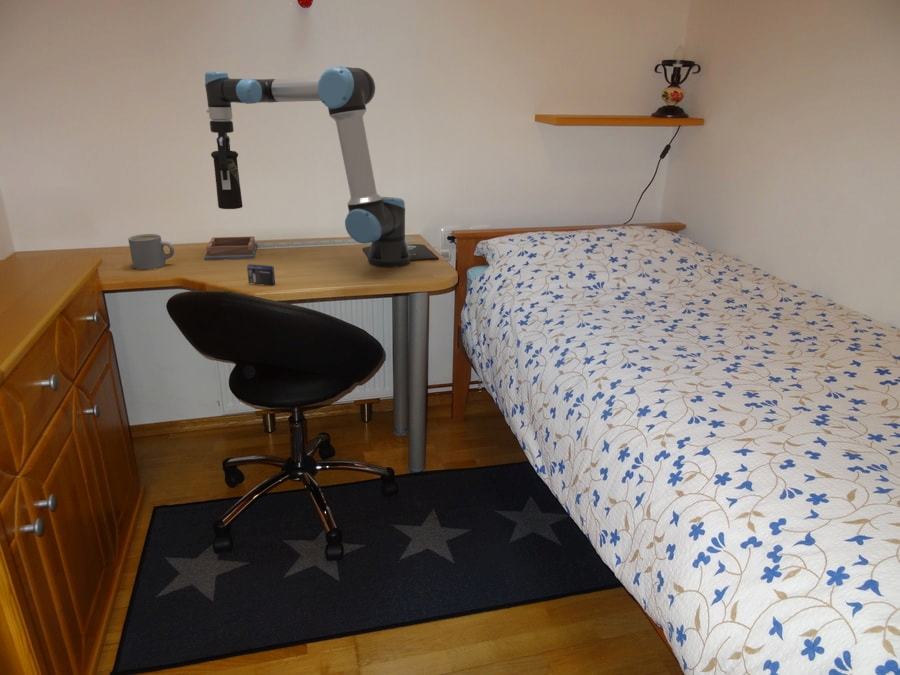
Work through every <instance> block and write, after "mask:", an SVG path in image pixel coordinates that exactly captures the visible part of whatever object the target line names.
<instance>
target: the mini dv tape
mask: <svg viewBox="0 0 900 675" xmlns="http://www.w3.org/2000/svg"><path fill="white" fill-rule="evenodd" d="M246 268H247V275H248V276H247V279H248V284H249V283H255V284H254V285H260V284H264V285H263V286H275V285H276V277H275V276H276V275H275V266H274V265H267V264H266V265H265V264H263V265H262V264H251V263H250V264H247V266H246Z"/></svg>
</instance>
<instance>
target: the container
mask: <svg viewBox="0 0 900 675" xmlns="http://www.w3.org/2000/svg"><path fill="white" fill-rule="evenodd" d="M210 156H211V157H212V159H213V167H214V178H215V185H216V186H215V188H216V197H217V206H218V209H221V210H237V209H241V208H243V200H242V191H241V181H240V174H239V167H238V157H239V153H238V152H237V151H235V150H230V151H228V152H227V154H226V157H227V160H228V170H229V175H230V185H231V190H223V188H222V179H221V171H218V168H219V156H218V150H214V151H212V152H211V153H210Z"/></svg>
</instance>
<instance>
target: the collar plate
mask: <svg viewBox="0 0 900 675" xmlns="http://www.w3.org/2000/svg"><path fill="white" fill-rule="evenodd" d="M255 241H256V239H255V236H228V237H227V236H223V237H219V236H218V237H211V238H210V240H209V242H208V244H207V245H206V253H205V255H204V257H203V258H204V260H203V261H223V260H224V259H228V260H248V259H249V258H254V259H255V258H256V253H257V250H258V246H259V242H255ZM220 259H221V260H220ZM249 260H250V259H249Z"/></svg>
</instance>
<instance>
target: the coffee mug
mask: <svg viewBox="0 0 900 675" xmlns="http://www.w3.org/2000/svg"><path fill="white" fill-rule="evenodd" d="M128 246H129V250H130V256H131V261H132V267H133V269H134V268H135V269H134V270H138V269H152V270H155V269H154V268H158V269H160V268H159V267H161V268H163V267H165V266H166V261H167V260H169V259H171V258H173V256H174V254H175V247H174V245H173V244H172V242H170V241H166V240H162V236H161V235H160V234H158V233H157V234H155V233H142V234H135V235H134V234H133V235H132V236H129V237H128ZM164 246H168V248H169V253H166V252H165V250H164ZM164 265H165V266H164ZM162 266H163V267H162Z"/></svg>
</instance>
